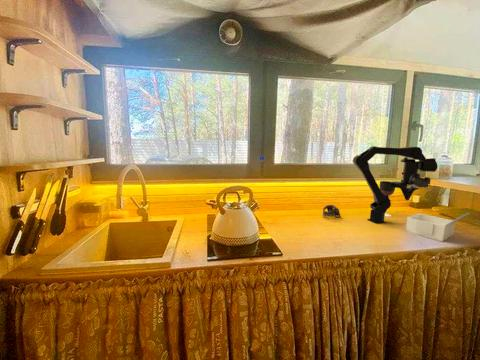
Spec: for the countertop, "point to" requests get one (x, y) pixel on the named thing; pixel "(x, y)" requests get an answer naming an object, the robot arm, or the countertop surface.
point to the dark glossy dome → (331, 211)
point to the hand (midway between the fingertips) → (407, 200)
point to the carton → (430, 226)
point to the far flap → (457, 219)
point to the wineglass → (386, 190)
